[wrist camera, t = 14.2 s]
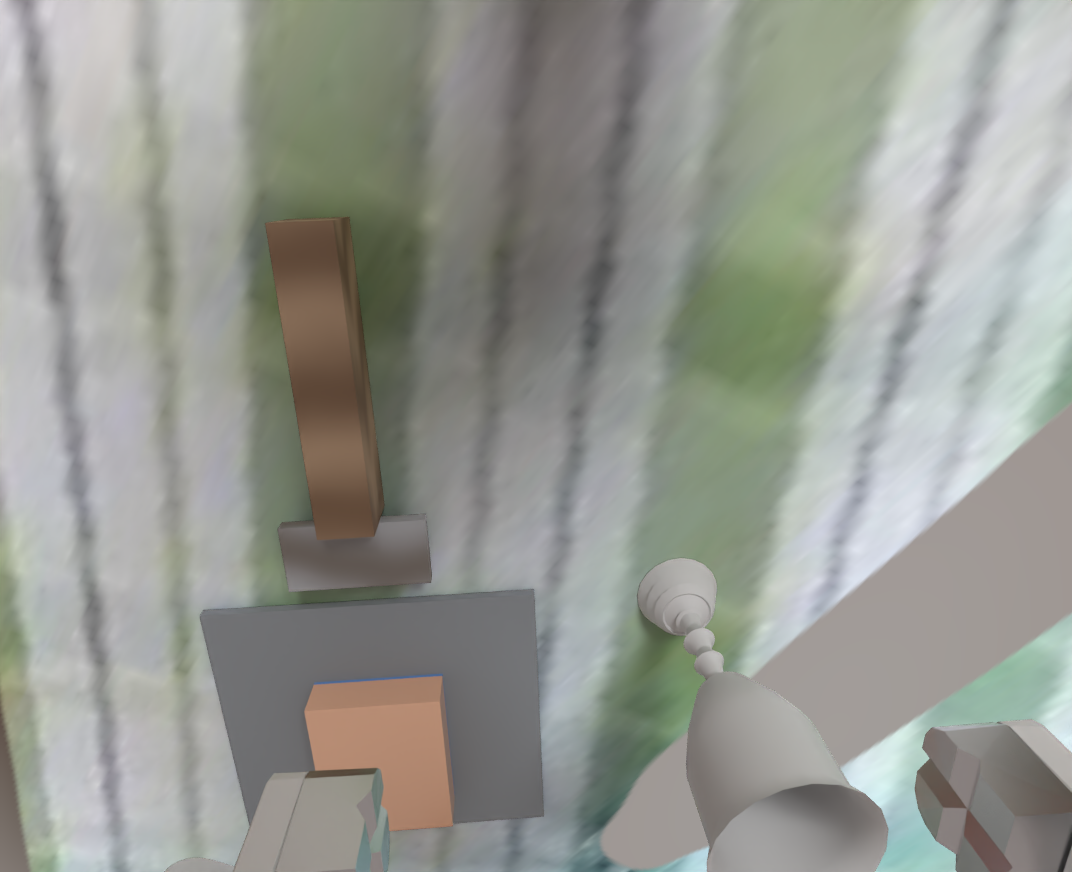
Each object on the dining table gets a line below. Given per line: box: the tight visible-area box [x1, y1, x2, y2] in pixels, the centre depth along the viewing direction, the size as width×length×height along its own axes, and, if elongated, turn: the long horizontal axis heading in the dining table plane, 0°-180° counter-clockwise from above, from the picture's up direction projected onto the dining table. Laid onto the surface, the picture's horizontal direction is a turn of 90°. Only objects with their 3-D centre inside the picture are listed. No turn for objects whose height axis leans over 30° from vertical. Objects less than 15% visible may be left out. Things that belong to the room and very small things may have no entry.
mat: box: [200, 589, 544, 825], centre depth 45 cm, size 18×20×1 cm
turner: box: [265, 217, 432, 592], centre depth 36 cm, size 20×8×4 cm, turn 2°
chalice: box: [637, 558, 888, 872], centre depth 35 cm, size 7×7×18 cm
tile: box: [304, 674, 455, 831], centre depth 44 cm, size 2×8×10 cm
